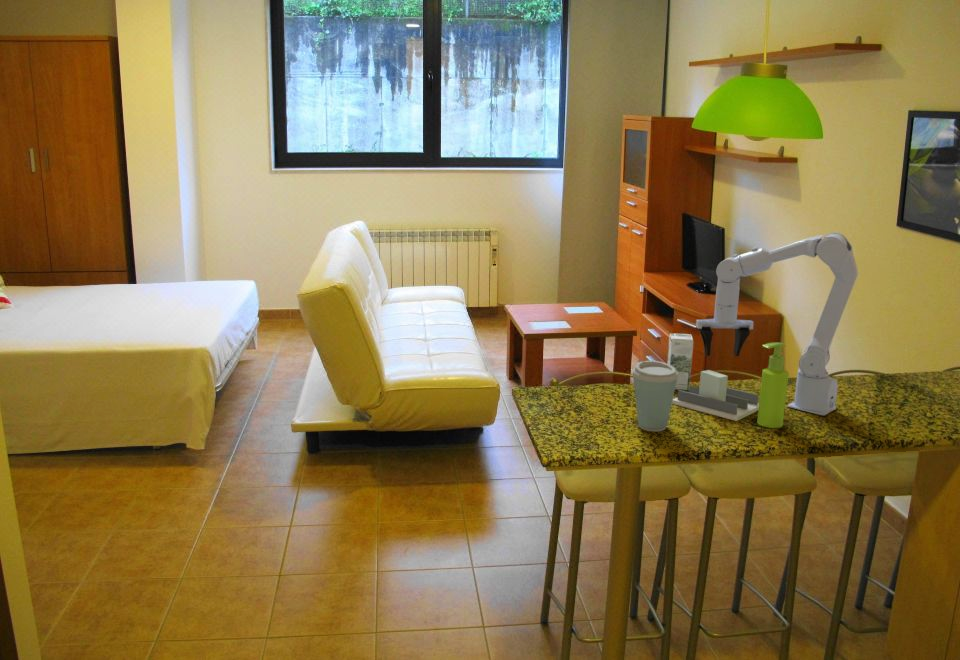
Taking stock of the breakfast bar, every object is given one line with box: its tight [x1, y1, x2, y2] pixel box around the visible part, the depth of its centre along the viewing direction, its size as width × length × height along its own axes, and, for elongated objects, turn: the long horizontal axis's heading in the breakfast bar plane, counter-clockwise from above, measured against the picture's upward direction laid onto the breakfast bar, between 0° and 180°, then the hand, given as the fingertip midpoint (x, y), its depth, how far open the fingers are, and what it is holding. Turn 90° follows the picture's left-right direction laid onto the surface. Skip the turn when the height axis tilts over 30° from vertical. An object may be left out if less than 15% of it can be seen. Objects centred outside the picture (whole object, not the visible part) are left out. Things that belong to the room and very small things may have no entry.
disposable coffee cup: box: [631, 359, 678, 433], centre depth 209 cm, size 11×11×15 cm
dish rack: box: [672, 384, 760, 422], centre depth 227 cm, size 18×14×4 cm
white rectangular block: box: [699, 369, 729, 401], centre depth 224 cm, size 6×3×8 cm, turn 35°
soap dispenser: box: [756, 341, 790, 429], centre depth 212 cm, size 6×7×20 cm
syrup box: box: [666, 333, 694, 392], centre depth 239 cm, size 6×6×14 cm
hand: (721, 355), depth 235 cm, fingers open, 7 cm apart
